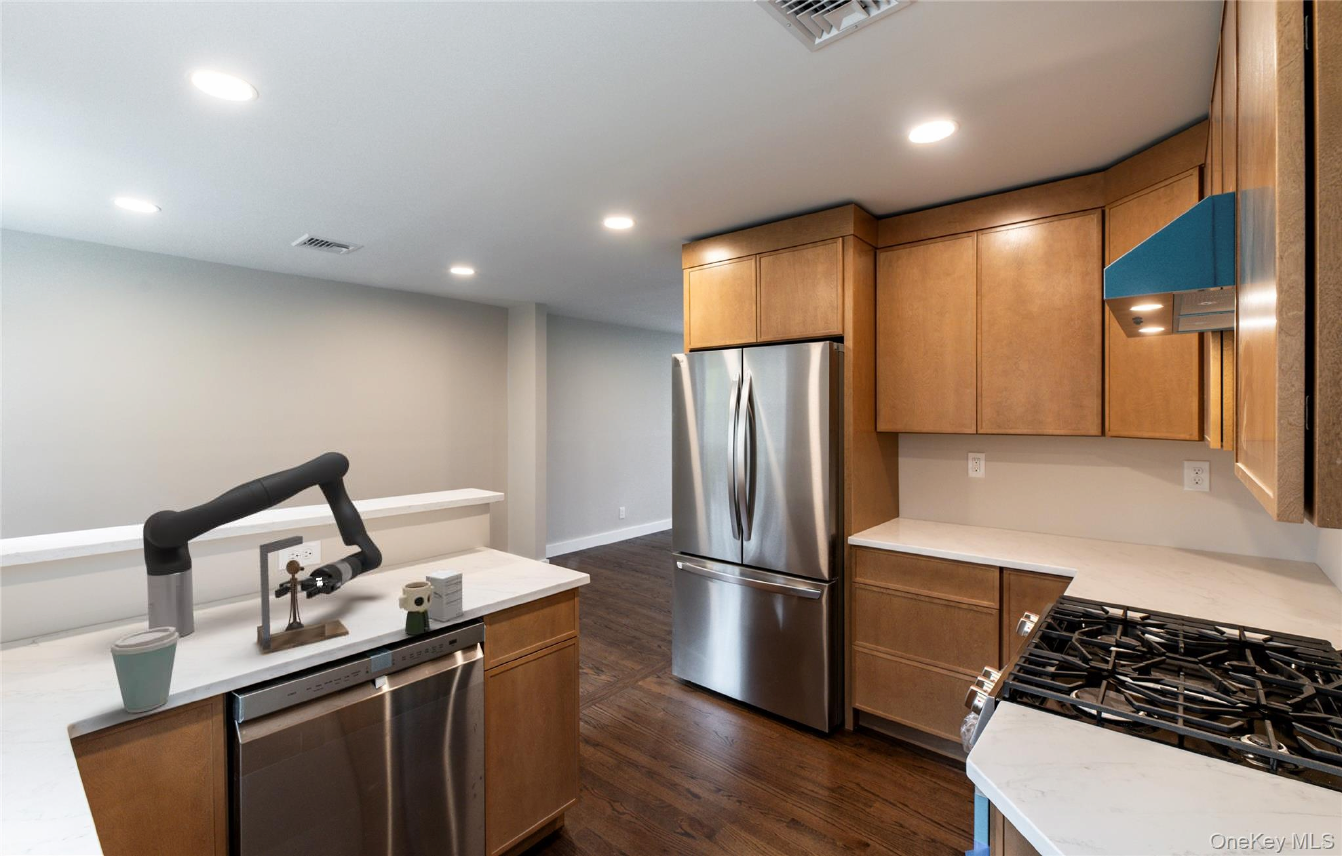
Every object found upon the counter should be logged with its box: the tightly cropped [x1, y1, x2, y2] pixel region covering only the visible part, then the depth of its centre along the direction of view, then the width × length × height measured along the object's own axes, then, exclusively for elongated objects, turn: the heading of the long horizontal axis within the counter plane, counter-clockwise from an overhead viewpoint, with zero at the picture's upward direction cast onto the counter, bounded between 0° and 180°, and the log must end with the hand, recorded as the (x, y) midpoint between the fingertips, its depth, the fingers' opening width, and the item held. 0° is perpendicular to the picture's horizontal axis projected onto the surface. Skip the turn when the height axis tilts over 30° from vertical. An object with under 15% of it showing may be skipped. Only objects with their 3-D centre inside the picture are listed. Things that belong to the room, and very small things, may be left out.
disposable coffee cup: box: [110, 627, 181, 714], centre depth 122 cm, size 11×11×15 cm
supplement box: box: [425, 569, 463, 623], centre depth 173 cm, size 7×7×13 cm
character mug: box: [398, 580, 434, 635], centre depth 161 cm, size 11×7×13 cm, turn 152°
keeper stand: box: [256, 535, 350, 655], centre depth 156 cm, size 19×11×27 cm, turn 132°
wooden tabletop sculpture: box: [284, 559, 305, 632], centre depth 156 cm, size 6×5×20 cm
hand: (291, 594), depth 155 cm, fingers open, 8 cm apart
